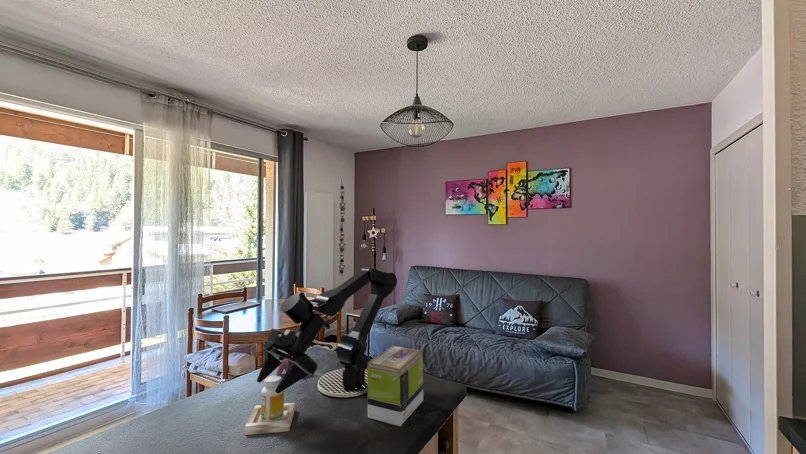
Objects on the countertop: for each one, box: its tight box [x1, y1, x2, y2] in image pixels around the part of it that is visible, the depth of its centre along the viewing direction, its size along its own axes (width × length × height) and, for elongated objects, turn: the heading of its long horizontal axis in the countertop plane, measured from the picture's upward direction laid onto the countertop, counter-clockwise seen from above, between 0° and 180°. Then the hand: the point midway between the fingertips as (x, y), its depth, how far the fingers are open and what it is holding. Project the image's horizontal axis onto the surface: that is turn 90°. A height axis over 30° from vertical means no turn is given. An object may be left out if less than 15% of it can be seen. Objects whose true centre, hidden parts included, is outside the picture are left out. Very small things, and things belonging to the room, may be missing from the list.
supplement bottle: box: [260, 375, 285, 422], centre depth 85 cm, size 5×5×10 cm
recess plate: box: [244, 402, 296, 436], centre depth 85 cm, size 10×10×2 cm
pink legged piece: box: [275, 359, 294, 377], centre depth 115 cm, size 10×5×7 cm, turn 84°
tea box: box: [366, 345, 424, 427], centre depth 92 cm, size 15×10×15 cm
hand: (267, 387), depth 84 cm, fingers open, 9 cm apart
